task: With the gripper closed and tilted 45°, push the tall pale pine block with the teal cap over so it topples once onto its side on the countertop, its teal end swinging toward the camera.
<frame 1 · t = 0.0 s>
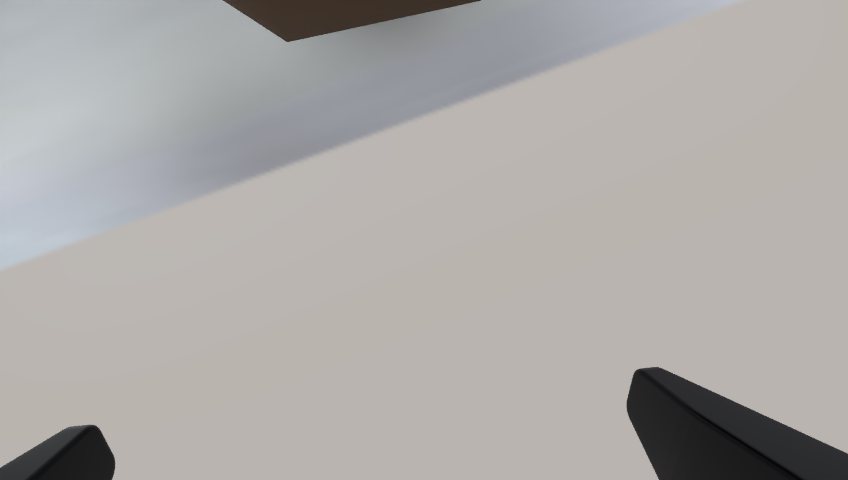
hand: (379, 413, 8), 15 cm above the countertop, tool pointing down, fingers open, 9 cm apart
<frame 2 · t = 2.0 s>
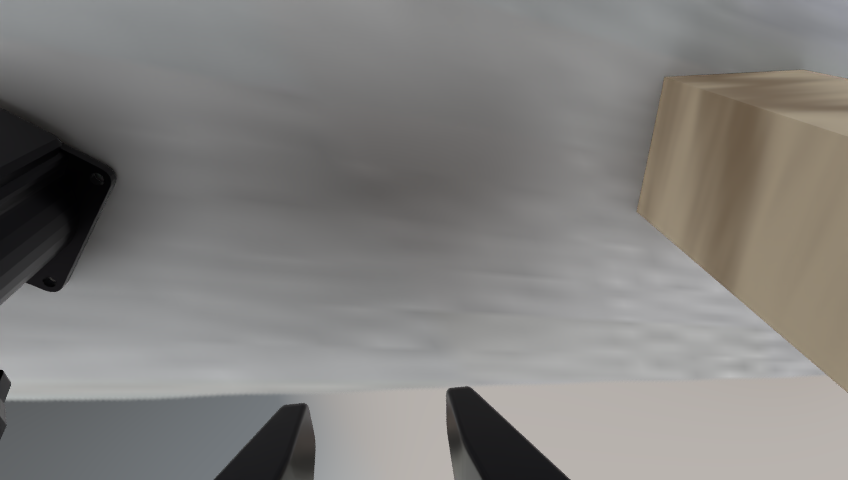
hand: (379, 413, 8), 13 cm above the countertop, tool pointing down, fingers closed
pine block: (715, 144, 21), on the countertop
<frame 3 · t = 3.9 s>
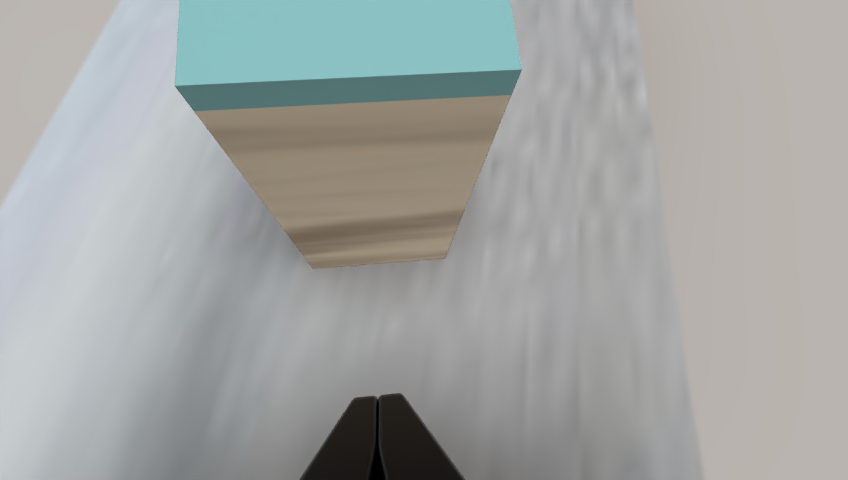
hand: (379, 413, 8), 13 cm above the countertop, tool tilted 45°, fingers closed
pine block: (375, 201, 23), on the countertop
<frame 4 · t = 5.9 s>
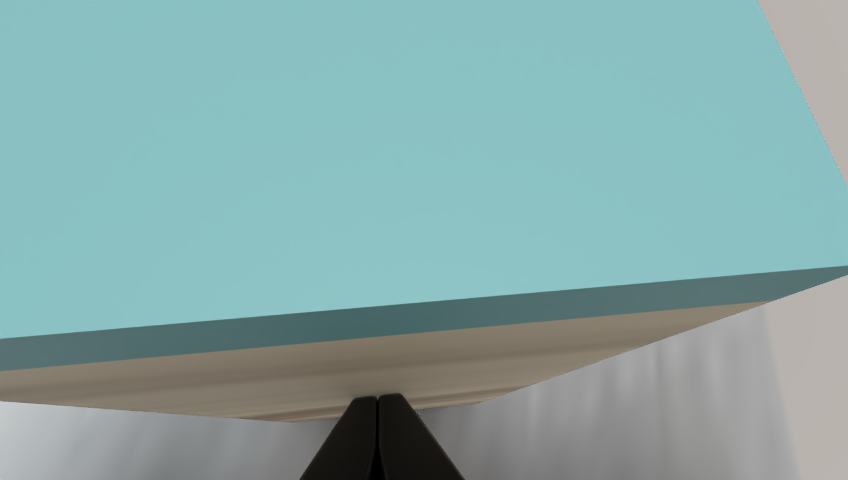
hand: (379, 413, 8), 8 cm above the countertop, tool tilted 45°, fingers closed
pine block: (381, 320, 16), on the countertop
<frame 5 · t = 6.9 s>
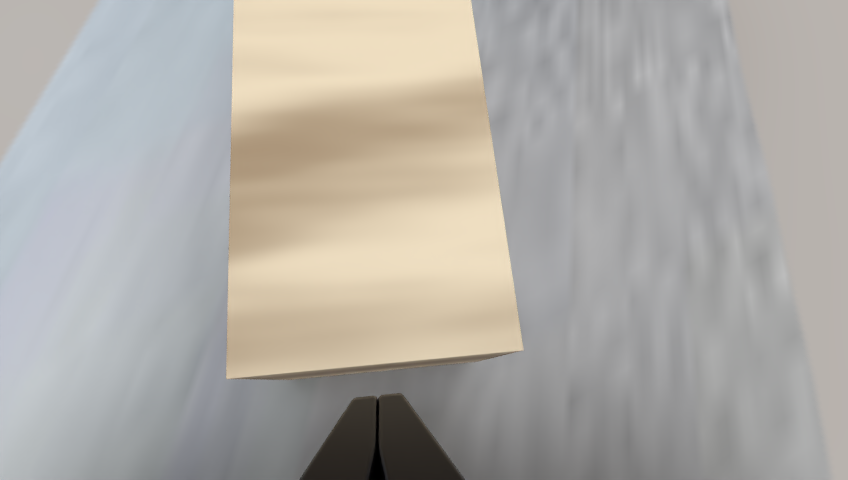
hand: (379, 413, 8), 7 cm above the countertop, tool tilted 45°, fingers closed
pine block: (382, 368, 12), point 3 cm above the countertop, tilted 90°
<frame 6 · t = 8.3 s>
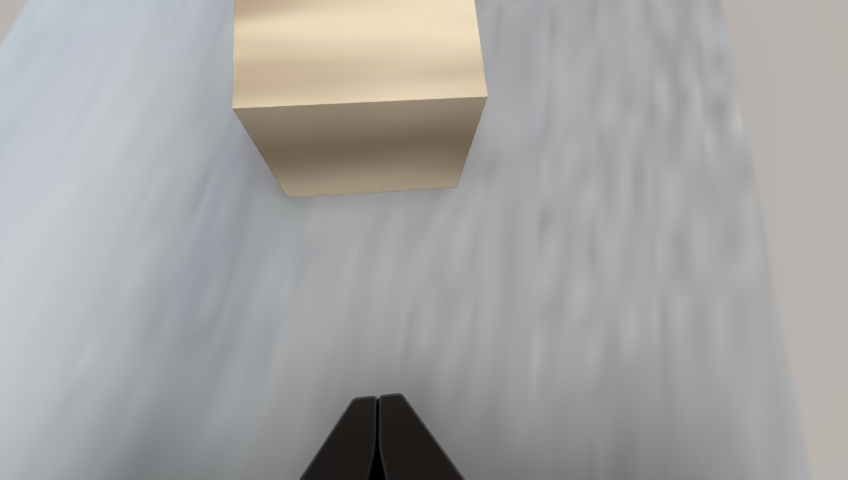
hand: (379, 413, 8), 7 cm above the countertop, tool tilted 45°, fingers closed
pine block: (369, 156, 14), point 3 cm above the countertop, tilted 90°
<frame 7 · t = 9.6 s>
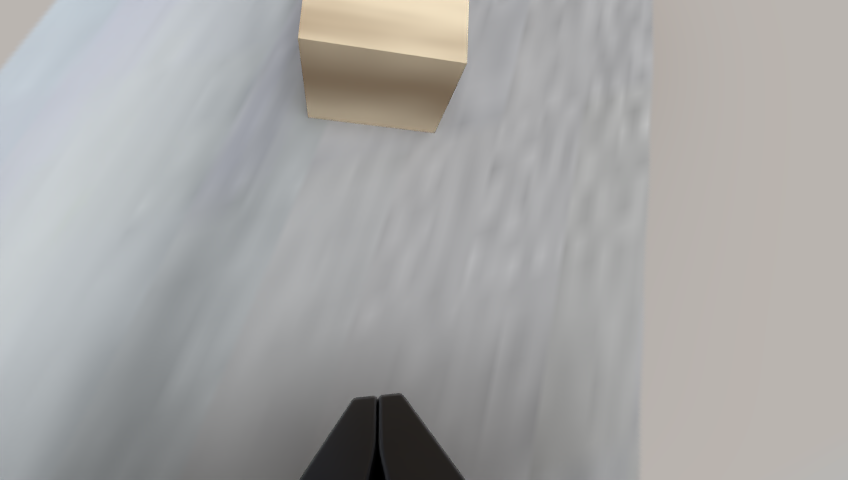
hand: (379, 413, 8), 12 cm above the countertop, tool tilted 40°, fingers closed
pine block: (377, 93, 20), point 3 cm above the countertop, tilted 90°
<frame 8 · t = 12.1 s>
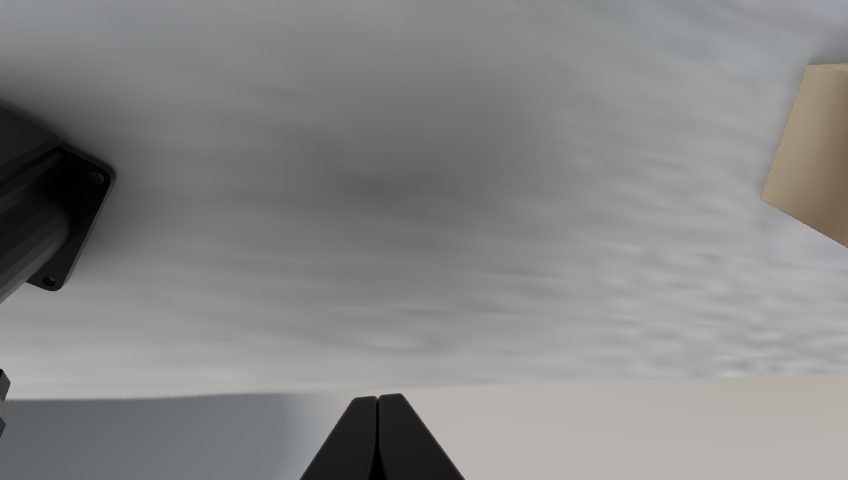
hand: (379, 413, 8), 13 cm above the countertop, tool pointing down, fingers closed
pine block: (840, 158, 18), point 3 cm above the countertop, tilted 90°
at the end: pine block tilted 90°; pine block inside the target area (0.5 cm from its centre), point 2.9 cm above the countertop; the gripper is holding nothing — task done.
